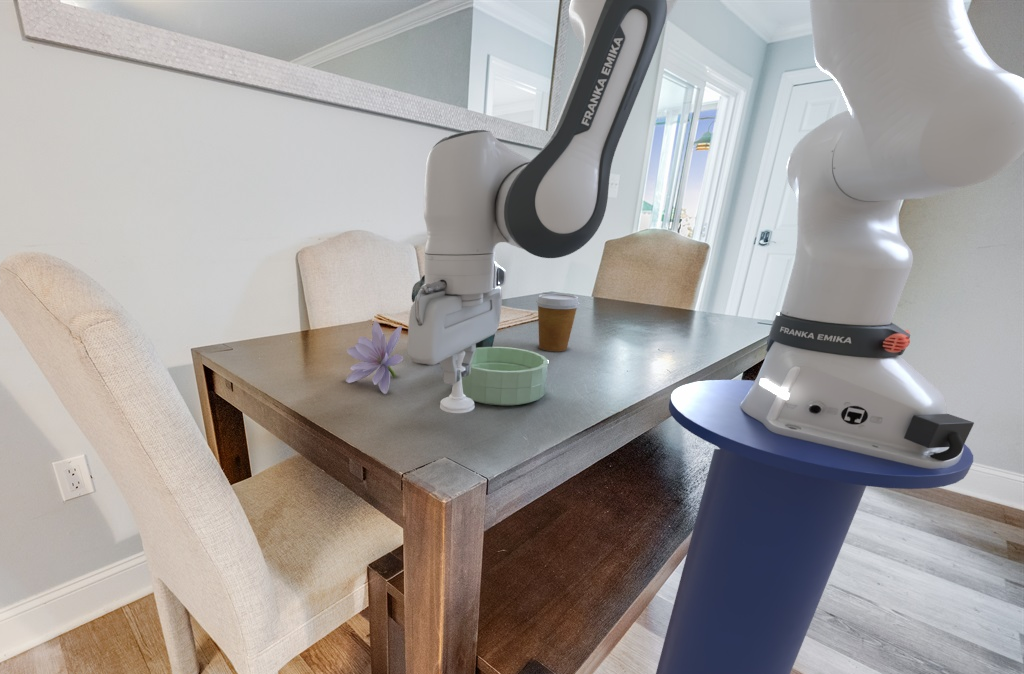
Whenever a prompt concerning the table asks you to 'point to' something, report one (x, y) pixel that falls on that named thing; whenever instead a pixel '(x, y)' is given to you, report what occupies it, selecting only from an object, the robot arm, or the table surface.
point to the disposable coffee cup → (555, 320)
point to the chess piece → (457, 393)
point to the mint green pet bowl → (506, 376)
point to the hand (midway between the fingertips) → (457, 379)
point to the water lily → (375, 357)
